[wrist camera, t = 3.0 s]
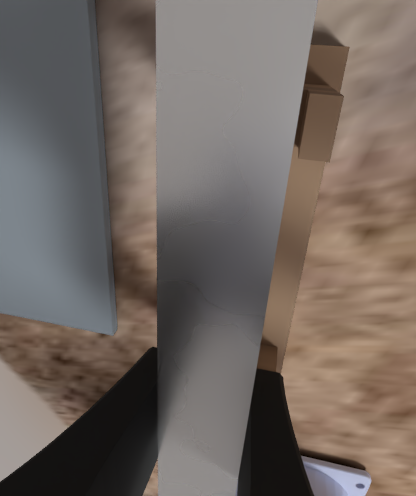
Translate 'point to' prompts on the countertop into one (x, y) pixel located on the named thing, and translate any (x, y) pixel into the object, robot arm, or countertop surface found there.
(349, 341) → the countertop surface
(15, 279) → the slate mat
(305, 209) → the cradle rack
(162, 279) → the steel rail
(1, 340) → the countertop surface
